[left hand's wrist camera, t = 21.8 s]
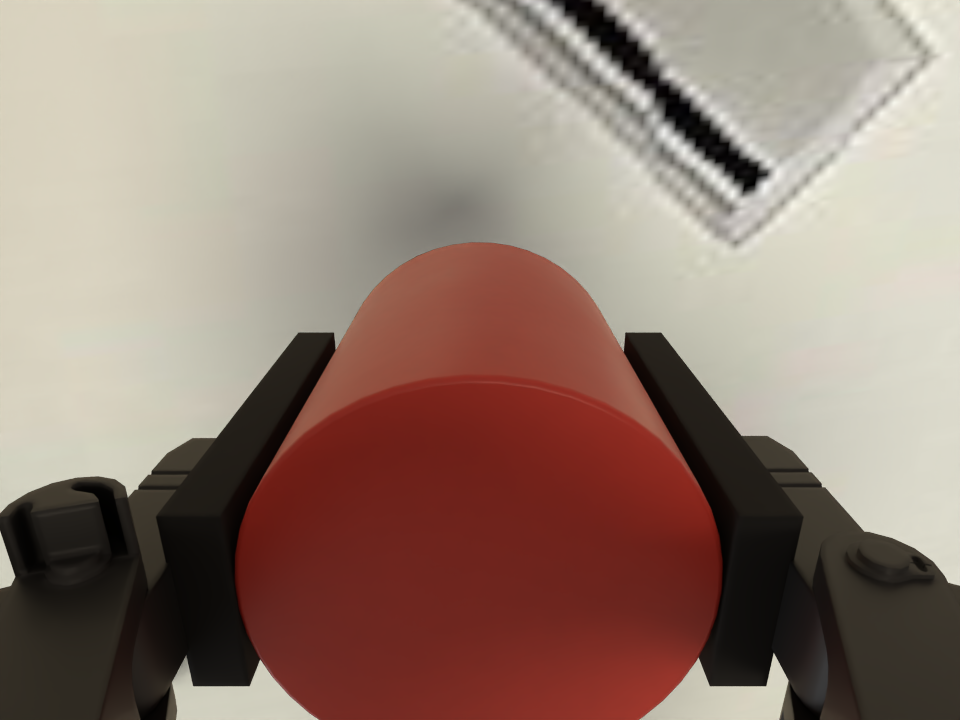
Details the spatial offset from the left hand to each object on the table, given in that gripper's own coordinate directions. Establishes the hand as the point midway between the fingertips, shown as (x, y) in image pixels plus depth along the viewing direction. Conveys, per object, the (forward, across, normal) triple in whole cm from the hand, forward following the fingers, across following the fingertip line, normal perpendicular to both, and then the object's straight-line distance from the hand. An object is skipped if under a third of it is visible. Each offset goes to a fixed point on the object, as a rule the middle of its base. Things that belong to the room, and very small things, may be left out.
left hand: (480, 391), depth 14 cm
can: (+1, 0, 0) cm, 1 cm away
